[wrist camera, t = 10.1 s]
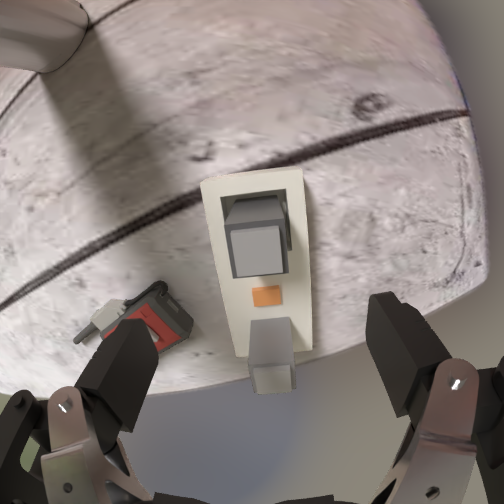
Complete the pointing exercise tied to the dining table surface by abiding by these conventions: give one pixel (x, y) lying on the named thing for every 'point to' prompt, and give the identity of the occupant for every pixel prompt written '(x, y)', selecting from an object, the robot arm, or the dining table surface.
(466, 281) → the dining table surface
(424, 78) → the dining table surface
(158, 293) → the walkie-talkie
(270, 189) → the power strip
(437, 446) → the robot arm
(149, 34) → the dining table surface
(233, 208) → the plug
